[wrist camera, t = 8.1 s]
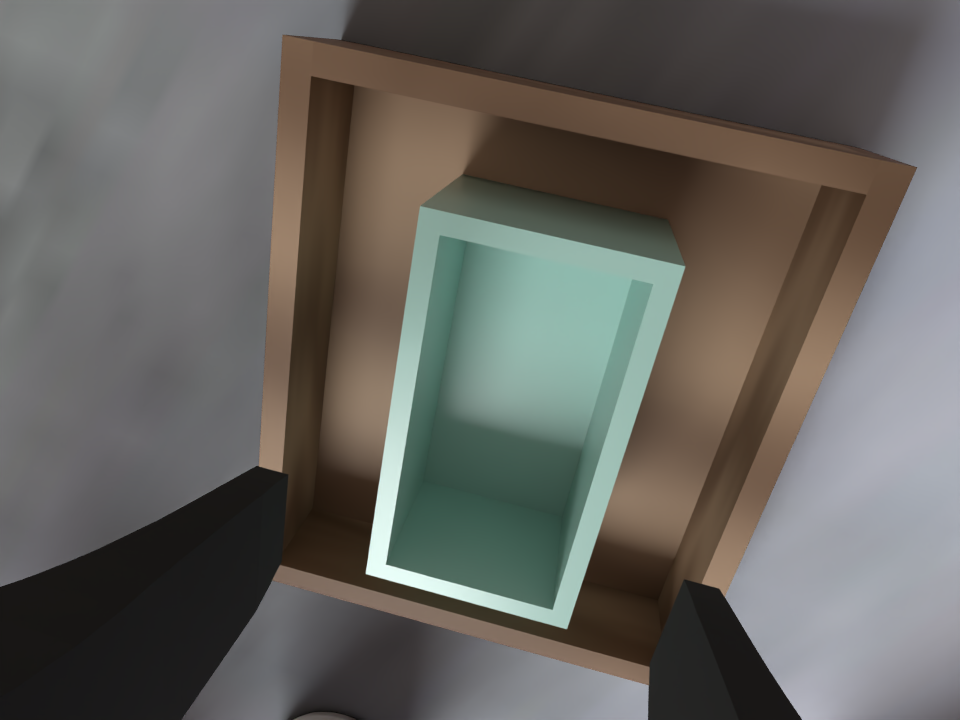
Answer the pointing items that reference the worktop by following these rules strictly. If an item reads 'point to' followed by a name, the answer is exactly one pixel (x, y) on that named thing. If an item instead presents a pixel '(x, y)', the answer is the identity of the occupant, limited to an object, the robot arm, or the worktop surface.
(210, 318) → the worktop surface
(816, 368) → the big crate
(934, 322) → the worktop surface
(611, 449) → the small crate
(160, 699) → the robot arm
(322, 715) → the energy drink
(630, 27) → the worktop surface
